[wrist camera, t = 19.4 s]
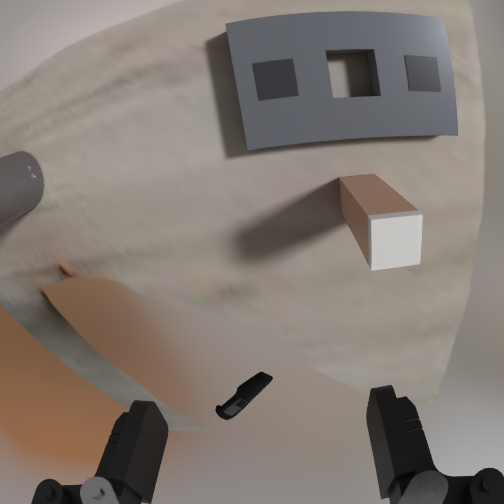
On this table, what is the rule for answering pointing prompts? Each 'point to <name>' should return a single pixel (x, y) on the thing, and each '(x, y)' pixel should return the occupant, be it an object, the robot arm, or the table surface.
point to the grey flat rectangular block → (318, 79)
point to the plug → (381, 222)
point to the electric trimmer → (243, 395)
